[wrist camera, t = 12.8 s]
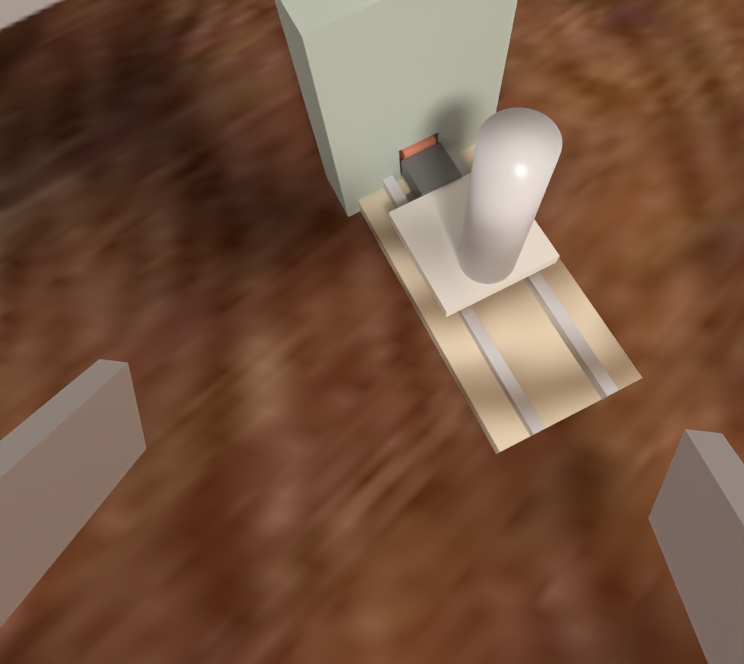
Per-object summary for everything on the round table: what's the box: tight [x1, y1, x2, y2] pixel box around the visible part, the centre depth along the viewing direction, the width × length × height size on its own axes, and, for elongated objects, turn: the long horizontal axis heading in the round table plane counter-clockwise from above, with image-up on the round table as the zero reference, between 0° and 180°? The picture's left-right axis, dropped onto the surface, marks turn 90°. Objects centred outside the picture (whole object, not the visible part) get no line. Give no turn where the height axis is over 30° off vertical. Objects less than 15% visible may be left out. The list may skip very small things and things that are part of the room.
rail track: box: [358, 144, 642, 454], centre depth 35 cm, size 20×10×2 cm, turn 26°
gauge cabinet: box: [275, 0, 517, 217], centre depth 32 cm, size 5×12×17 cm, turn 116°
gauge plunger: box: [399, 135, 436, 169], centre depth 37 cm, size 4×2×2 cm, turn 26°
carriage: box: [388, 108, 562, 317], centre depth 29 cm, size 11×8×12 cm
